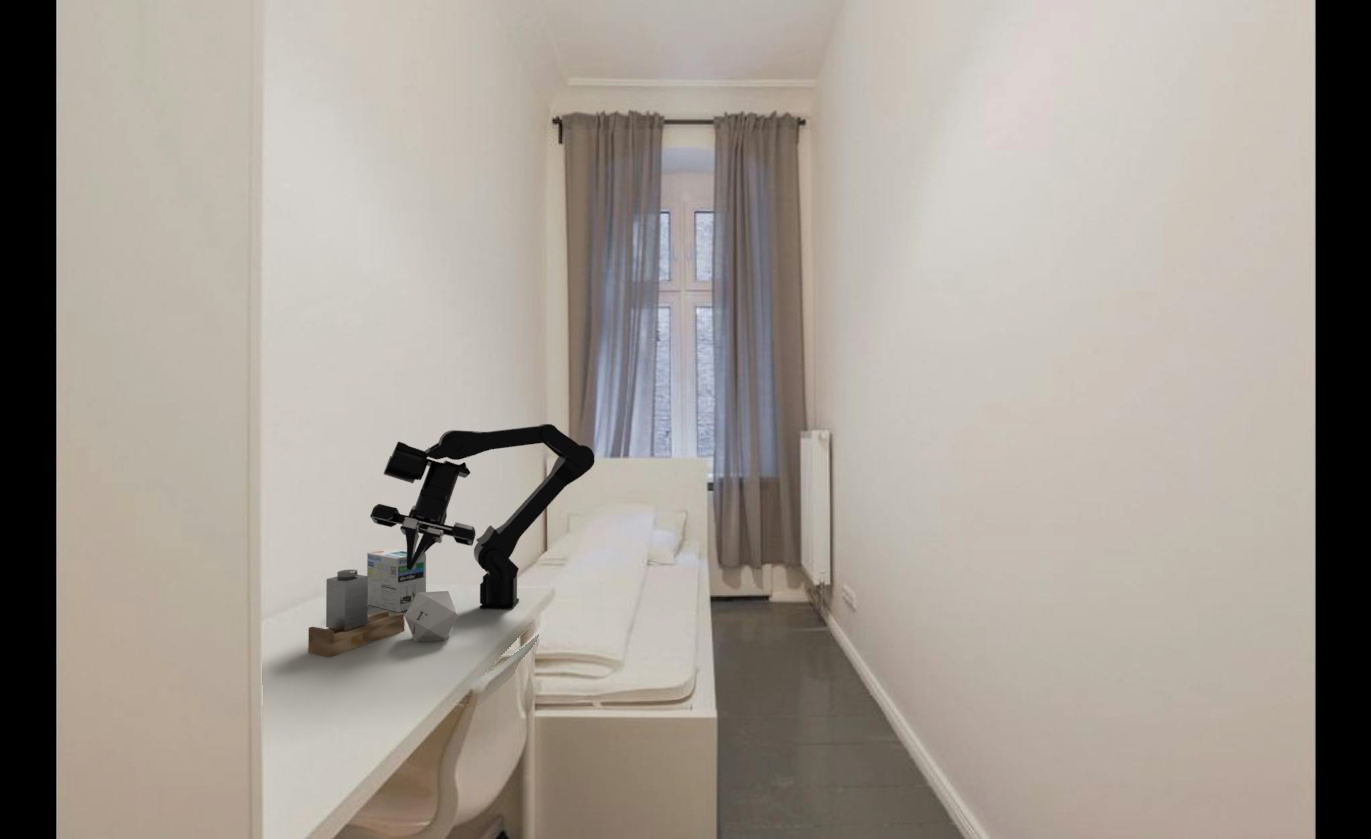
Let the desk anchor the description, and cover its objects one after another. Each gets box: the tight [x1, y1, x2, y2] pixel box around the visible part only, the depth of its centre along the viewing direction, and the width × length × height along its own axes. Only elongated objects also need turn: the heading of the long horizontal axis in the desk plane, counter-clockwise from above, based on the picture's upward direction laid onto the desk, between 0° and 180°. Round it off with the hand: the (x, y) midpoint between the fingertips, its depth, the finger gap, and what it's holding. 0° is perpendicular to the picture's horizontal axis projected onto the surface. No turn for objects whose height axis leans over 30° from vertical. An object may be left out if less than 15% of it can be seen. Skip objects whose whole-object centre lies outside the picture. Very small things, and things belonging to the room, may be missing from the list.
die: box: [404, 590, 458, 643], centre depth 116 cm, size 8×9×10 cm
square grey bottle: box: [325, 569, 369, 633], centre depth 112 cm, size 4×4×10 cm
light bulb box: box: [366, 547, 427, 613], centre depth 137 cm, size 11×7×11 cm, turn 58°
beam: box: [307, 609, 406, 658], centre depth 115 cm, size 15×5×4 cm, turn 156°
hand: (409, 569), depth 124 cm, fingers closed
